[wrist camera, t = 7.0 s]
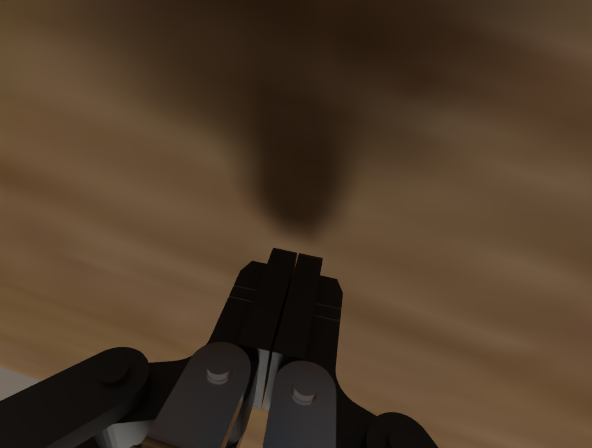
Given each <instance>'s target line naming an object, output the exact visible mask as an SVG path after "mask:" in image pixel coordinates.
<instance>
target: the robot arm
mask: <svg viewBox="0 0 592 448" xmlns="http://www.w3.org/2000/svg"><path fill="white" fill-rule="evenodd" d="M296 258H297V253H296V252H291V251H286V250H282V249H277V248H273V250H272V252H271V255H270V258H269V260H268V263H267V264H265V263H260V262H256V261H251V262H250V263H249V264H248V265H247V266H245V267H244V268H243V269H242V270H241V271H240V273H239V275H238V277H237V279H236V282H235V284H234V287H233V288H232V290H231V293H230V295H229V298H228V299H227V302H226V304H225V306H224V308H223V311H222V313H221V315H220V317H219V319H218V322H217V324H216V326H215V328H214V331H213V333H212V335H211V337H210V339H209V341H208V343H207V344H206V345H205V346H203V347H201V348H200V349H199V350H197V351H196V352H195V353H194V354H193V356H191V357H188V358H186V359H182V360H178V361H168V362H154V363H148V360H147V358H146V357H145V356H144V354H142V353H141V352H140V351H138V350H136V349H133V348H129V347H117V348H112V349H108V350H105V351H103V352H101V353H99V354H97V355H95V356H92V357H90V358H88V359H86V360H84V361H82V362H80V363H78V364H76V365H74V366H72V367H70V368H68V369H66V370H64V371H61V372H59V373H57V374H55V375H53V376H51V377H49V378H47V379H45V380H43V381H41V382H39V383H37V384H35V385H33V386H30V387H29V388H26V389H24V390H22V391H20V392H18V393H16V394H14V395H12V396H10V397H8V398H6V399H4V400H2V401H0V448H239V447H240V444H241V441H242V438H243V434H244V432H245V430H246V427H247V424H248V420H249V417H250V413H251V410H252V407H256V408H260V409H261V407H262V403H263V399H264V395H265V391H266V397H265V403H264V409H265V410H269V414H268V420H267V425H266V431H265V437H264V442H263V448H438V447H437V445H436V444H435V443H434V441H433V440H432V439H431V437H430V436H429V435H428V433H427V432H426V431H425V430H424V428H423V427H422V426H421V425H420V424H419V423H417V422H416V421H415V420H413V419H412V418H410V417H408V416H406V415H404V414H401V413H396V412H388V413H383V414H381V415H379V416H376V415H374V414H372V413H371V412H369V411H367V410H365V409H364V408H362V407H360V406H359V405H357V404H356V403H354V402H353V401H352V400H350V399H349V398H348V397H347V396H346V394H345V393H344V392H343V391H342V389H341V388H340V386H339V384H338V381H337V378H336V358H337V347H338V337H339V327H340V317H341V307H342V297H343V292H342V290H341V288H340V285H339V283H338V280H337V279H334V278H330V277H325V276H320V272H321V266H322V260H323V258H320V257H315V256H310V255H306V254H301V253H299V255H298V259H297V263H296ZM295 264H296V266H295ZM267 383H268V384H267ZM266 387H267V390H266Z"/></svg>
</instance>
